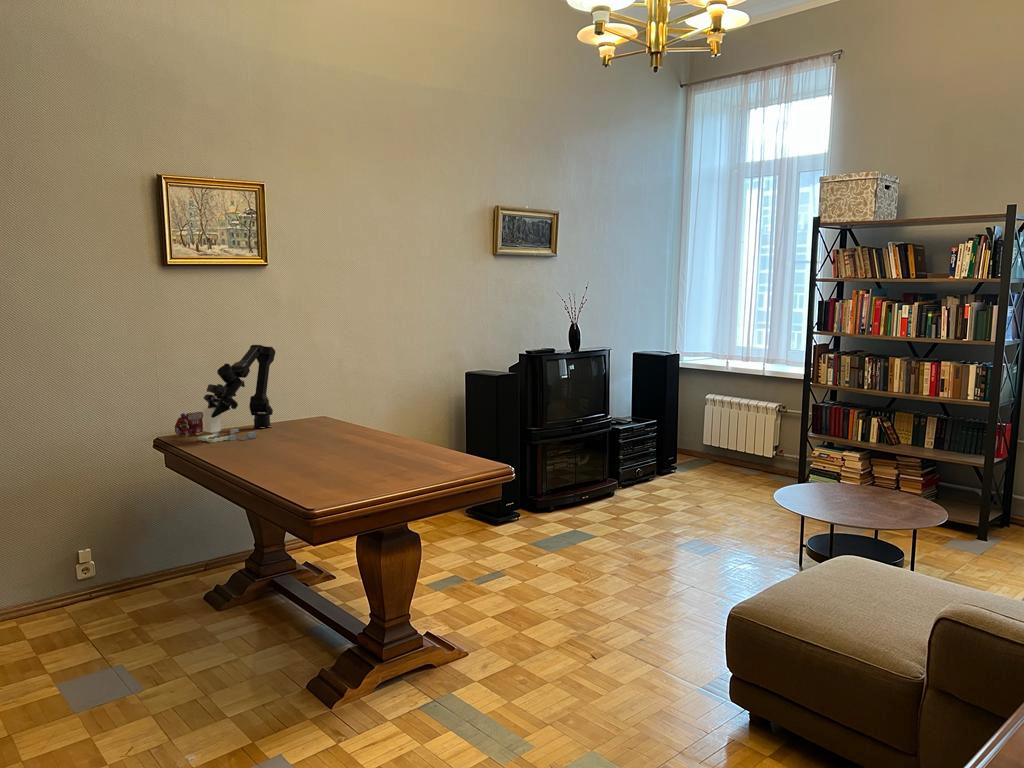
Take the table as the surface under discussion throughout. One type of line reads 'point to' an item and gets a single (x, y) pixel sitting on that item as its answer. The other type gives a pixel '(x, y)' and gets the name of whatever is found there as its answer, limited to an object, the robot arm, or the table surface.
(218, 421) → the ivory block
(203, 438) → the sage bay
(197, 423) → the toy fire truck
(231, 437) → the channel
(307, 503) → the table surface
